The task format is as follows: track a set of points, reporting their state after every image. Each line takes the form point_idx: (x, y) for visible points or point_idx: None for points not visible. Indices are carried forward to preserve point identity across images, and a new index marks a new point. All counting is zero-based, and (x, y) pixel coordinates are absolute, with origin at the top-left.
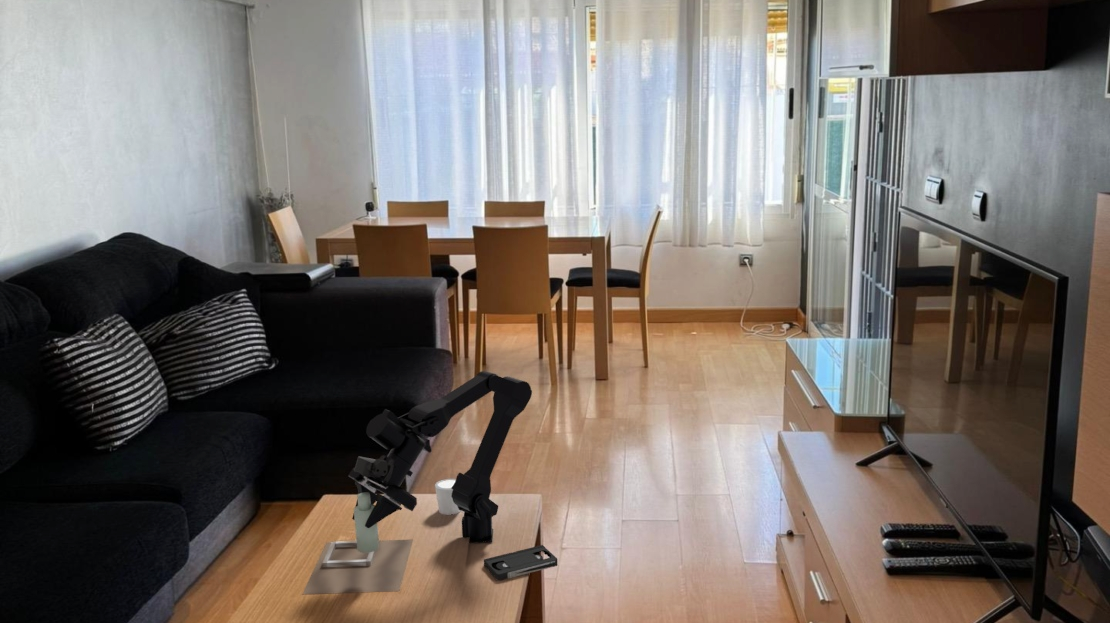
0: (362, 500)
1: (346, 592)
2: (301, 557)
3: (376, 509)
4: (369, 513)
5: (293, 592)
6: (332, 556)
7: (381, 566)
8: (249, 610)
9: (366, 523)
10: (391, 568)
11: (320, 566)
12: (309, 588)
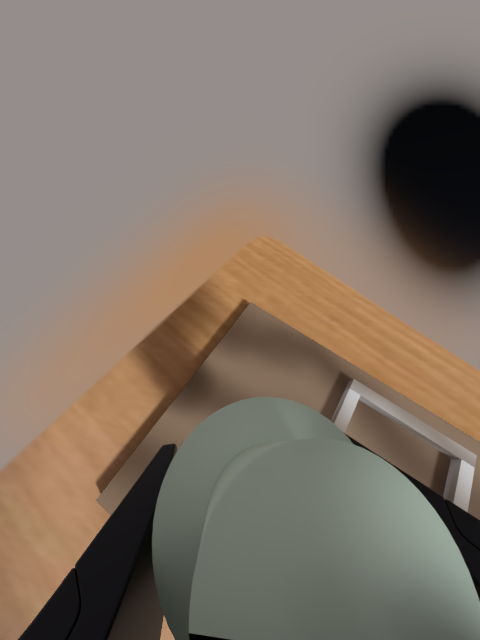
0: (223, 486)
1: (195, 374)
2: (433, 373)
3: (33, 627)
4: (156, 514)
5: (284, 304)
6: (397, 426)
7: None
8: (265, 237)
9: (161, 454)
10: None
11: (355, 379)
12: (266, 321)
